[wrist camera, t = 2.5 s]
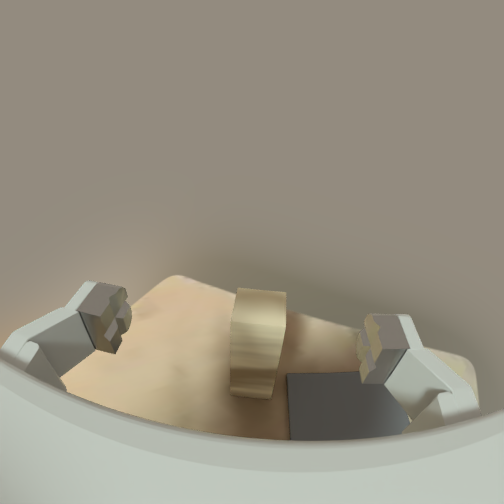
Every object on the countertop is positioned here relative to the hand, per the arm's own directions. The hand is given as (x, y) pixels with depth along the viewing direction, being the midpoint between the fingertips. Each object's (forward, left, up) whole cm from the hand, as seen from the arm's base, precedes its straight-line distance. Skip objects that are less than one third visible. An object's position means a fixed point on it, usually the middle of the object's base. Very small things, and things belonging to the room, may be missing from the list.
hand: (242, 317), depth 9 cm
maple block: (+12, -1, -22) cm, 25 cm away
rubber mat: (+4, -12, -22) cm, 26 cm away
